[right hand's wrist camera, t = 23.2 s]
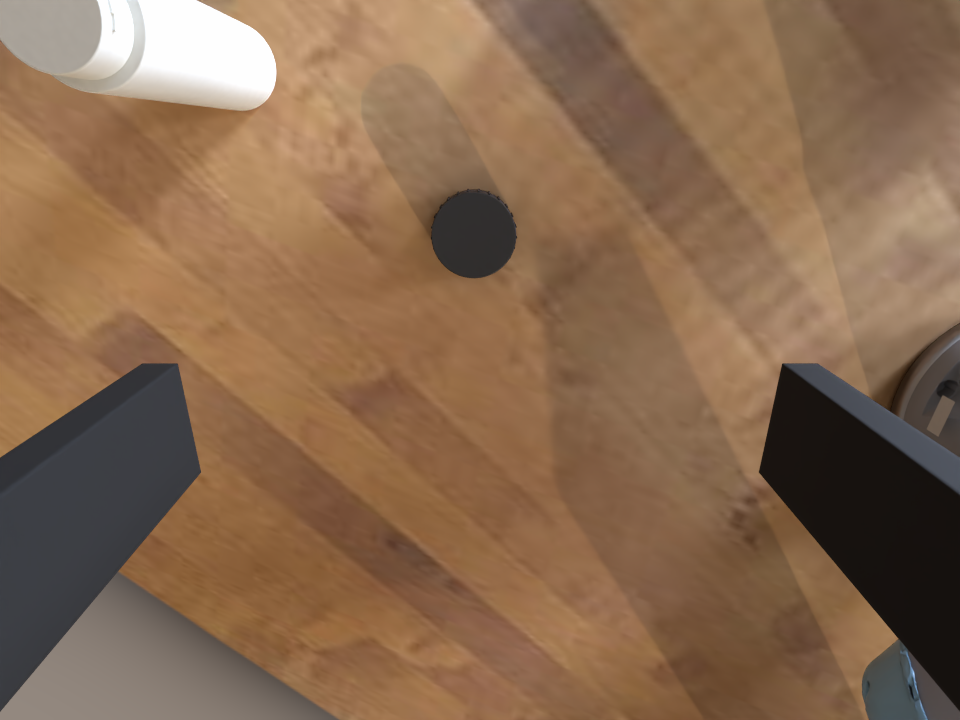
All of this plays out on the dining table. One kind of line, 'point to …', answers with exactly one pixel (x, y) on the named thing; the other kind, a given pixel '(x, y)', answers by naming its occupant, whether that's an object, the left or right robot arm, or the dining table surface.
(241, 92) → the jar
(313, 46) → the dining table surface
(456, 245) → the lid
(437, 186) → the dining table surface
